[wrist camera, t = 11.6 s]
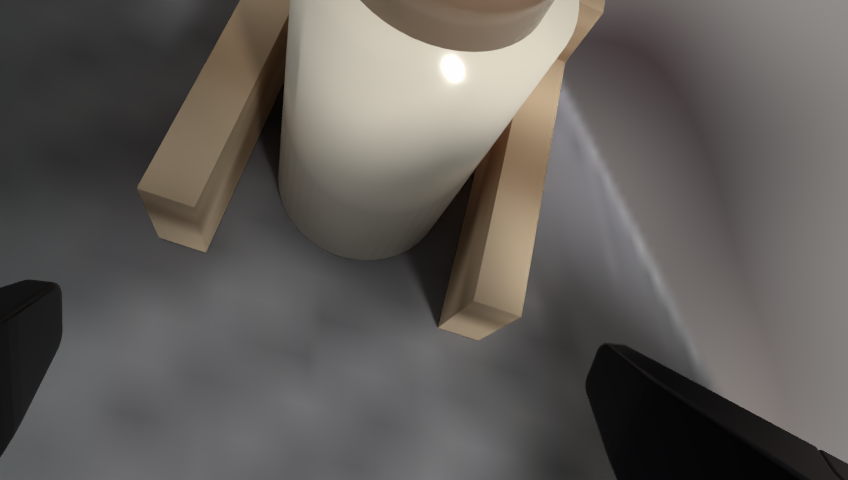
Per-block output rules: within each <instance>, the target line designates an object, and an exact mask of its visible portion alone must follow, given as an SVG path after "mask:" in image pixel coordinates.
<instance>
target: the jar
mask: <svg viewBox="0 0 848 480" xmlns="http://www.w3.org/2000/svg"><path fill="white" fill-rule="evenodd" d="M578 13H579V0H290V7H289V22H288V37H287V52H286V68H285V83H284V98H283V113H282V128H281V144H280V159H279V174H278V184H279V192H280V197H281V200H282V203H283V206H284V208H285V210H286V212H287V214H288V216H289V218H290V219H291V221H292V222H293V223H294V225H295V226H296V227H297V229H298V230H299V231H300V232H301V233H302V234H303V235H304V236H305V237H307V238H308V239H309V240H310V241H311V242H313V243H314V244H316V245H317V246H319V247H321V248H322V249H324V250H326V251H328V252H330V253H333V254H335V255H338V256H341V257H345V258H350V259H355V260H380V259H385V258H390V257H393V256H396V255H399V254H401V253H403V252H405V251H407V250H409V249H411V248H412V247H413V246H415V245H416V244H418V243H419V242H420V241H421V240H422V239H423V238H424V237H425V236H426V235H427V233H428V232H429V231H430V230H431V228H432V227H433V226H434V224H435V223H436V221H437V220H438V219H439V217H440V216H441V215H442V213H443V212H444V211H445V209H446V208H447V207H448V205H449V204H450V202H451V201H452V200H453V198H454V197H455V196H456V194H457V193H458V192H459V190H460V189H461V188H462V186H463V185H464V184H465V182H466V181H467V179H468V178H469V177H470V175H471V174H472V173H473V171H474V170H475V169H476V167H477V166H478V165H479V163H480V162H481V160H482V159H483V158H484V156H485V155H486V154H487V152H488V151H489V150H490V148H491V147H492V146H493V144H494V143H495V142H496V140H497V139H498V137H499V136H500V135H501V133H502V132H503V131H504V129H505V128H506V127H507V125H508V124H509V123H510V121H511V120H512V118H513V117H514V116H515V114H516V113H517V112H518V110H519V109H520V108H521V106H522V105H523V104H524V102H525V101H526V100H527V98H528V97H529V95H530V94H531V93H532V91H533V90H534V89H535V87H536V86H537V85H538V83H539V82H540V81H541V79H542V78H543V76H544V75H545V74H546V72H547V71H548V70H549V68H550V67H551V66H552V64H553V63H554V62H555V60H556V59H557V58H558V56H559V55H560V53H561V52H562V51H563V49H564V48H565V47H566V45H567V44H568V42H569V40H570V38H571V36H572V35H573V32H574V29H575V26H576V24H577V20H578Z"/></svg>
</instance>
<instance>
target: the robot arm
mask: <svg viewBox="0 0 848 480" xmlns="http://www.w3.org/2000/svg"><path fill="white" fill-rule="evenodd" d="M61 338H62V292H61V288H60V286H59V285H58V284H57V283H54V282H47V281H38V280H24V281H20V282H17V283H14V284H11V285H7V286H4V287H1V288H0V457H1V455H2V454H3V452H4V451H5V449H6V448H7V446H8V444H9V443H10V441H11V440H12V438H13V436H14V435H15V433H16V431H17V429H18V427H19V425H20V424H21V422H22V420H23V418H24V416H25V414H26V412H27V410H28V408H29V406H30V404H31V402H32V400H33V398H34V396H35V394H36V392H37V390H38V388H39V386H40V384H41V382H42V380H43V378H44V376H45V374H46V372H47V370H48V368H49V366H50V364H51V362H52V360H53V358H54V356H55V354H56V352H57V350H58V348H59V345H60V342H61ZM586 393H587V396H588V399H589V402H590V405H591V408H592V411H593V414H594V417H595V420H596V423H597V426H598V429H599V432H600V435H601V438H602V441H603V444H604V447H605V450H606V453H607V456H608V459H609V461H610V464H611V467H612V469H613V471H614V474H615V476H616V479H617V480H848V464H847V463H845V462H843V461H841V460H840V459H838V458H836V457H834V456H832V455H830V454H828V453H826V452H825V451H823V450H818V449H817V448H816V447H815V446H813V445H811V444H809V443H808V442H806V441H804V440H802V439H800V438H798V437H796V436H795V435H793V434H791V433H789V432H787V431H785V430H783V429H781V428H780V427H777V426H776V425H774V424H772V423H770V422H768V421H766V420H765V419H763V418H761V417H759V416H757V415H755V414H753V413H751V412H750V411H748V410H746V409H744V408H742V407H740V406H738V405H737V404H735V403H733V402H731V401H729V400H727V399H725V398H723V397H722V396H720V395H718V394H716V393H714V392H712V391H710V390H709V389H707V388H705V387H703V386H701V385H699V384H697V383H695V382H694V381H692V380H690V379H688V378H686V377H684V376H682V375H680V374H679V373H677V372H675V371H673V370H671V369H669V368H667V367H666V366H664V365H662V364H660V363H658V362H656V361H654V360H652V359H651V358H649V357H647V356H645V355H643V354H641V353H639V352H637V351H636V350H634V349H632V348H630V347H628V346H626V345H623V344H616V343H604V344H602V345H601V346H600V347H599V348H598V350H597V353H596V355H595V358H594V360H593V363H592V365H591V368H590V371H589V373H588V376H587V379H586Z"/></svg>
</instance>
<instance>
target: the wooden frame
mask: <svg viewBox="0 0 848 480" xmlns="http://www.w3.org/2000/svg"><path fill="white" fill-rule="evenodd" d="M604 4H605V0H579V13H578V20H577V24H576V26H575V29H574V32H573V35H572V36H571V38H570V40H569V42H568V44H567V45H566V47H565V48H564V49H563V51H562V52H561V53H560V55H559V56H558V58H557V59H556V60H555V62H554V63H553V64H552V66H551V67H550V68H549V70H548V71H547V72H546V74H545V75H544V76H543V78H542V79H541V81H540V82H539V83H538V85H537V86H536V87H535V89H534V90H533V91H532V93H531V94H530V95H529V97H528V98H527V100H526V101H525V102H524V104H523V105H522V106H521V108H520V109H519V110H518V112H517V113H516V114H515V116H514V117H513V118H512V120H511V121H510V123H509V124H508V125H507V127H506V128H505V129H504V131H503V132H502V133H501V135H500V136H499V137H498V139H497V140H496V142H495V143H494V144H493V146H492V147H491V148H490V150H489V151H488V152H487V154H486V155H485V156H484V158H483V159H482V160H481V162H480V163H479V165H478V166H477V167H476V171H475V175H474V179H473V183H472V187H471V192H470V196H469V200H468V204H467V208H466V213H465V217H464V221H463V225H462V229H461V234H460V238H459V242H458V246H457V250H456V254H455V259H454V263H453V267H452V271H451V275H450V280H449V284H448V288H447V292H446V296H445V301H444V305H443V309H442V313H441V317H440V322H439V326H438V328H441V329H444V330H447V331H450V332H453V333H456V334H459V335H462V336H465V337H468V338H472V339H475V340H478V341H479V340H480V339H482V338H484V337H486V336H488V335H489V334H491V333H493V332H495V331H497V330H499V329H500V328H502V327H504V326H506V325H508V324H509V323H511V322H513V321H515V320H517V319H518V318H520V317H521V316H522V311H523V305H524V299H525V293H526V287H527V281H528V276H529V270H530V264H531V258H532V252H533V247H534V241H535V235H536V229H537V223H538V217H539V212H540V206H541V200H542V194H543V188H544V182H545V177H546V171H547V165H548V159H549V153H550V147H551V142H552V136H553V130H554V124H555V118H556V112H557V107H558V101H559V95H560V89H561V83H562V78H563V72H564V66H565V62H566V61H567V59H568V58H569V57H570V55H571V54H572V53H573V51H574V50H575V49H576V47H577V46H578V45H579V43H580V42H581V41H582V39H583V38H584V37H585V36H586V34H587V33H588V32H589V30H590V29H591V28H592V27H593V25H594V24H595V22H596V21H597V20H598V19H599V17H600V16H601V15H602V14H603V11H604ZM289 7H290V0H240V1H239V3H238V5H237V7H236V8H235V10H234V12H233V14H232V16H231V18H230V19H229V21H228V23H227V25H226V27H225V28H224V30H223V32H222V34H221V36H220V38H219V39H218V41H217V43H216V45H215V47H214V48H213V50H212V52H211V54H210V56H209V58H208V59H207V61H206V63H205V65H204V67H203V68H202V70H201V72H200V74H199V76H198V78H197V79H196V81H195V83H194V85H193V87H192V88H191V90H190V92H189V94H188V96H187V98H186V99H185V101H184V103H183V105H182V107H181V108H180V110H179V112H178V114H177V116H176V118H175V119H174V121H173V123H172V125H171V127H170V128H169V130H168V132H167V134H166V136H165V138H164V139H163V141H162V143H161V145H160V147H159V148H158V150H157V152H156V154H155V156H154V158H153V159H152V161H151V163H150V165H149V167H148V168H147V170H146V172H145V174H144V176H143V178H142V179H141V181H140V183H139V185H138V187H137V190H138V192H139V194H140V197H141V199H142V201H143V203H144V206H145V208H146V210H147V212H148V214H149V217H150V219H151V221H152V223H153V226H154V228H155V230H156V232H157V234H158V237H159V238H162V239H165V240H168V241H171V242H174V243H178V244H181V245H184V246H187V247H190V248H193V249H196V250H199V251H202V252H205V253H206V251H207V249H208V247H209V245H210V243H211V240H212V238H213V236H214V234H215V232H216V230H217V227H218V225H219V223H220V221H221V219H222V216H223V214H224V212H225V210H226V208H227V206H228V203H229V201H230V199H231V197H232V195H233V192H234V190H235V188H236V186H237V184H238V182H239V179H240V177H241V175H242V173H243V171H244V168H245V166H246V164H247V162H248V160H249V158H250V155H251V153H252V151H253V149H254V147H255V144H256V142H257V140H258V138H259V136H260V134H261V131H262V129H263V127H264V125H265V123H266V120H267V118H268V116H269V114H270V112H271V110H272V107H273V105H274V103H275V101H276V99H277V96H278V94H279V92H280V90H281V88H282V86H283V83H284V81H285V68H286V52H287V37H288V22H289Z"/></svg>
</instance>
